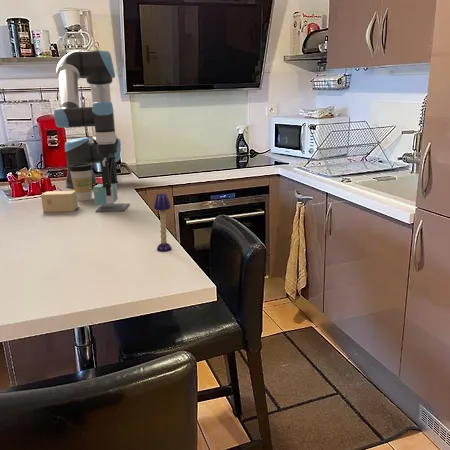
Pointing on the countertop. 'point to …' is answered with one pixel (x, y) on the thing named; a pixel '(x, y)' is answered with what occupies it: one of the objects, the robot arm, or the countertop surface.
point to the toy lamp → (162, 220)
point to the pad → (112, 207)
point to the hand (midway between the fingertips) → (112, 201)
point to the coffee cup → (82, 181)
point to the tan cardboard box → (59, 201)
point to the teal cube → (102, 194)
